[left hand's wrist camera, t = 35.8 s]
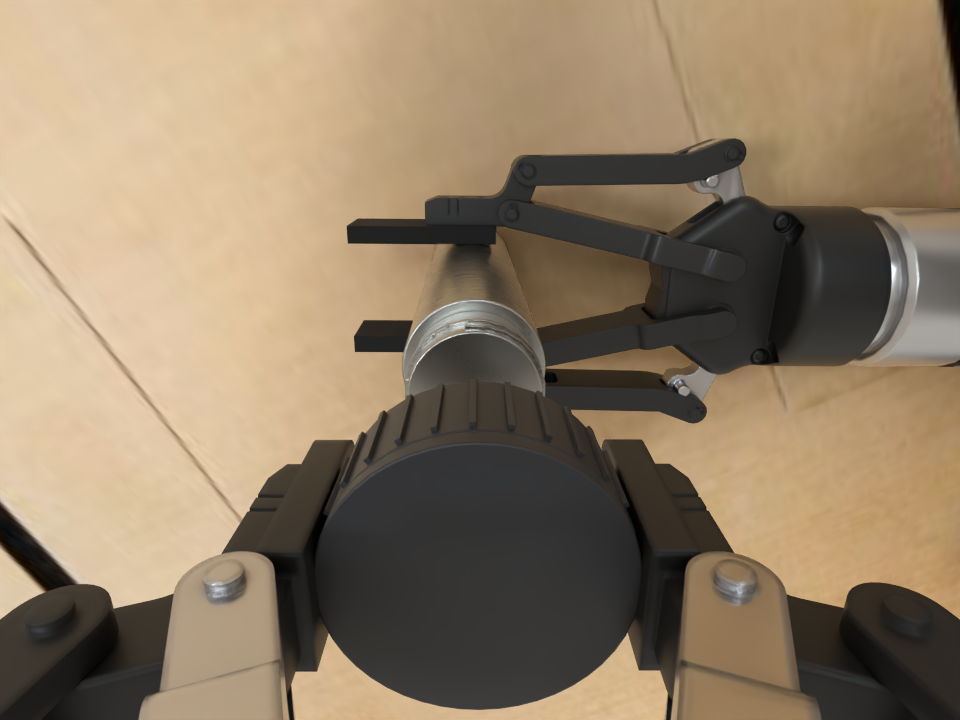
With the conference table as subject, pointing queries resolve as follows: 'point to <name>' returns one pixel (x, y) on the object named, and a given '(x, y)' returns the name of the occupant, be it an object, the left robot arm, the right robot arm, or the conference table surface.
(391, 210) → the conference table surface
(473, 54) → the conference table surface
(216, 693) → the left robot arm
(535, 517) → the lid
